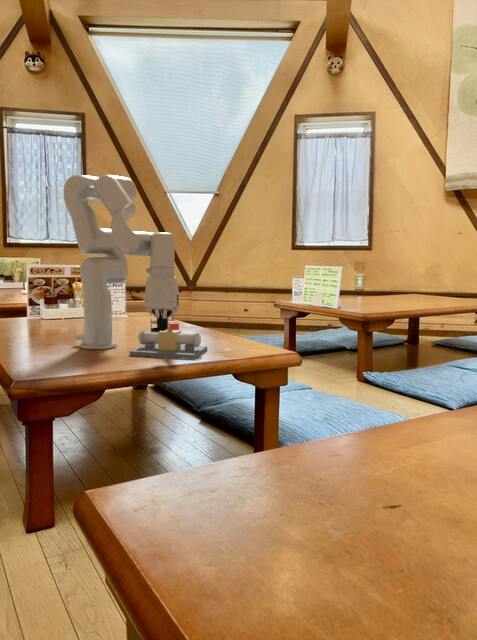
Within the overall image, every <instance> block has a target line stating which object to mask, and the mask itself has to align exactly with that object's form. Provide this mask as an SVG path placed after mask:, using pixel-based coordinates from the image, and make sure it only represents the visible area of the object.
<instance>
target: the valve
mask: <svg viewBox="0 0 477 640" xmlns="http://www.w3.org/2000/svg"><path fill="white" fill-rule="evenodd" d="M181 331H182V330H180V329H179V330H169V328H168V327H167V330H165V331H159V332H158V333H157V332H151V331H147V330H145V329H141V330H140V331H139V332H138V336H137V338H138V343H139V344H140V345H141V346H138V347H135V348H134V349H132V350H129V357H130V356H131V357H143V356H150V357H149V358H160V357H167V358H166V359H177V358H185V359H184V360H195V358H196V357H197V358H199V357H200V356H202V355H203V354H204V353H207V351H208V346H207V345H201V343H202V335H201V334H200V333H199V332H194V333H193V334H191V333H182V332H181ZM201 354H202V355H201ZM199 355H200V356H199ZM198 356H199V357H198ZM186 358H187V359H186ZM197 358H196V359H197Z"/></svg>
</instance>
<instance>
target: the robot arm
mask: <svg viewBox="0 0 477 640" xmlns="http://www.w3.org/2000/svg"><path fill="white" fill-rule="evenodd" d="M136 196H137V187H136V184H135V182H134V181H133V180H132V179H131V178H129V177H125V176H119V175H113V174H103V175H101V176H94V175H86V174H85V175H84V174H74V175H71V176H70V177H68V178H67V179H66V181H65V183H64V186H63V199H64V204H65V206H66V208H67V211H68V213H69V216H70V218H71V221H72V227H73V230H74V235H75V239H76V243H77V246H78V249H79V251H80V252H81V253H82V254H83V255H88V256H90V255H92V256H93V257H88V258H86V259H84V260H83V261H82V262H81V264H80V267H79V277H80V281H81V284H82V285H81V286H82V293H83V294H82V297H83V298H82V300H83V327H84V329H83V331H84V332H83V333H82V334H79V333H78V334H77V333H76V334H75V335H74V340H75V341H81V343H80V344H79V347H80V348H81V349H84V350H107V349H109V350H110V349H113V348H115V347H117V346H118V345H117V342H116V341H113V315H112V314H113V312H112V309H113V308H112V303H113V302H112V294H111V292H110V290H109V288H108V286H107V285H113V284H114V285H116V284H122V283H124V282H125V281H126V280H127V278H128V277H129V265H128V262H127V255H128V256H135V257H137V256H139V257H141V256H142V257H144V256H145V257H149V264H150V266H149V268H145V272H146V273H147V274H149V276H147V277H146V278H147V279H146V282H145V291H144V307H145V311H146V312H149V313H150V314H152V315H153V316H154V317H155V318H156V320H157V324H156V328H158V331H165V330H166V328H167V327H168V318H169V317H170V316H172V314H173V315H174V314H176V313H179V312H180V308H179V306H180V294H179V293H180V292H179V285H178V284H179V283H178V278H177V277H176V276H175V243H176V242H175V235H174V234H173V233H171V232H152V231H151V232H149V231H136V230H135V231H134V230H132V228H130V226H129V225H128V224H127V222H128V221H129V220H131V219H132V218H133V217H134V216H135V214H136V212H137V206H136V204H135V202H134V200H135V198H136ZM87 201H88V202H98V203H102V204H103V205H104V208H105V209H106V210H107V211H108V212H109V213H108V214H110V216H111V220H110V221H111V222H110V228H102V227H100V224H99V222H98V217H97V215H96V213H95V211H94V209H93V207H91V205H90V204H89V203H88V202H87ZM161 309H164V311H163V317H162V311H161ZM170 309H172V310H170Z"/></svg>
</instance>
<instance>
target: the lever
mask: <svg viewBox="0 0 477 640" xmlns="http://www.w3.org/2000/svg"><path fill="white" fill-rule="evenodd" d="M168 328H169V330H180V323H179V322H178V321H175V318H173V319H172V317H171V318H169V317H168Z"/></svg>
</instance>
